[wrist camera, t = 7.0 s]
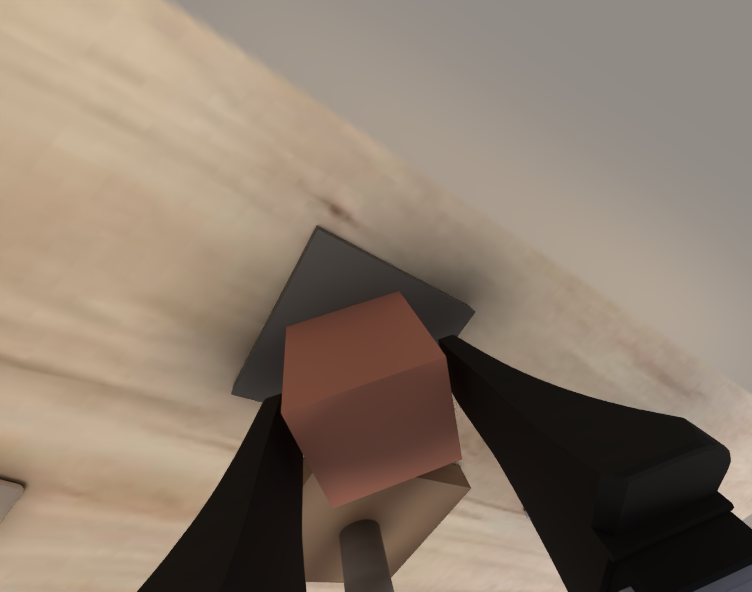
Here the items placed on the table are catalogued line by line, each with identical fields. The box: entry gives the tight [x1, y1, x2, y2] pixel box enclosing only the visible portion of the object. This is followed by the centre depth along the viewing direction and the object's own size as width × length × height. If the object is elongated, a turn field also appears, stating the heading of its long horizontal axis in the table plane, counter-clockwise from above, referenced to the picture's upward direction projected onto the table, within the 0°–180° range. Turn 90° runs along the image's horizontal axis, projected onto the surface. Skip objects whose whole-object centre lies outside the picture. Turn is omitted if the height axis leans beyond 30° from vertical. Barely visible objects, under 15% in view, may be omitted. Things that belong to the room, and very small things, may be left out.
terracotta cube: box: [281, 291, 462, 509], centre depth 12 cm, size 5×5×5 cm
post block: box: [302, 457, 471, 592], centre depth 16 cm, size 10×10×6 cm
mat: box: [231, 226, 475, 402], centre depth 14 cm, size 8×8×1 cm
